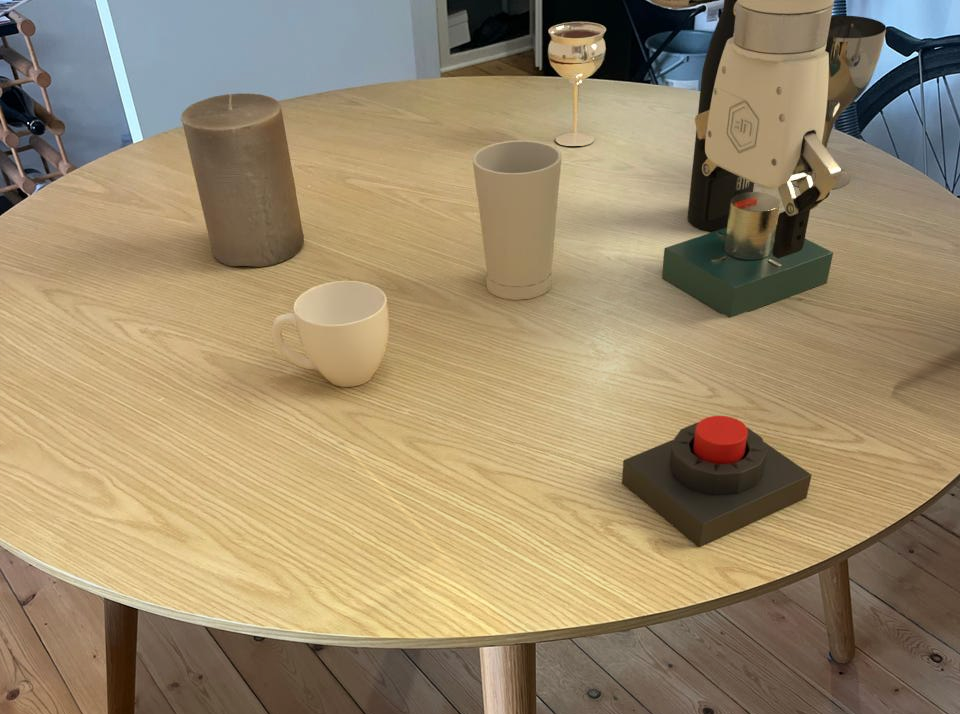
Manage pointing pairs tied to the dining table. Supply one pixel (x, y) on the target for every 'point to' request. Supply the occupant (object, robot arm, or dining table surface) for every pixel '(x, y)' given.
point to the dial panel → (742, 273)
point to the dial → (751, 225)
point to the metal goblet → (849, 67)
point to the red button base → (714, 486)
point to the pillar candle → (244, 178)
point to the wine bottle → (709, 74)
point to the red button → (720, 440)
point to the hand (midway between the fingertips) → (750, 234)
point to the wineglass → (576, 61)
